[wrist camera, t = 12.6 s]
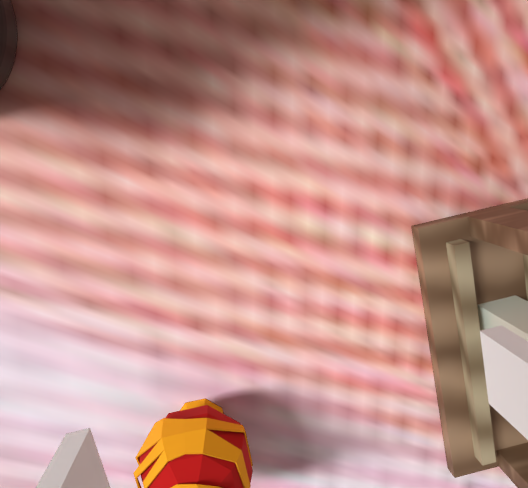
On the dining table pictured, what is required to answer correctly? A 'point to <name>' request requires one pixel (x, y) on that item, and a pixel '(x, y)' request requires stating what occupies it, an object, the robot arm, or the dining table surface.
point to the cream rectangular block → (505, 315)
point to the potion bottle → (195, 450)
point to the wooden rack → (472, 328)
